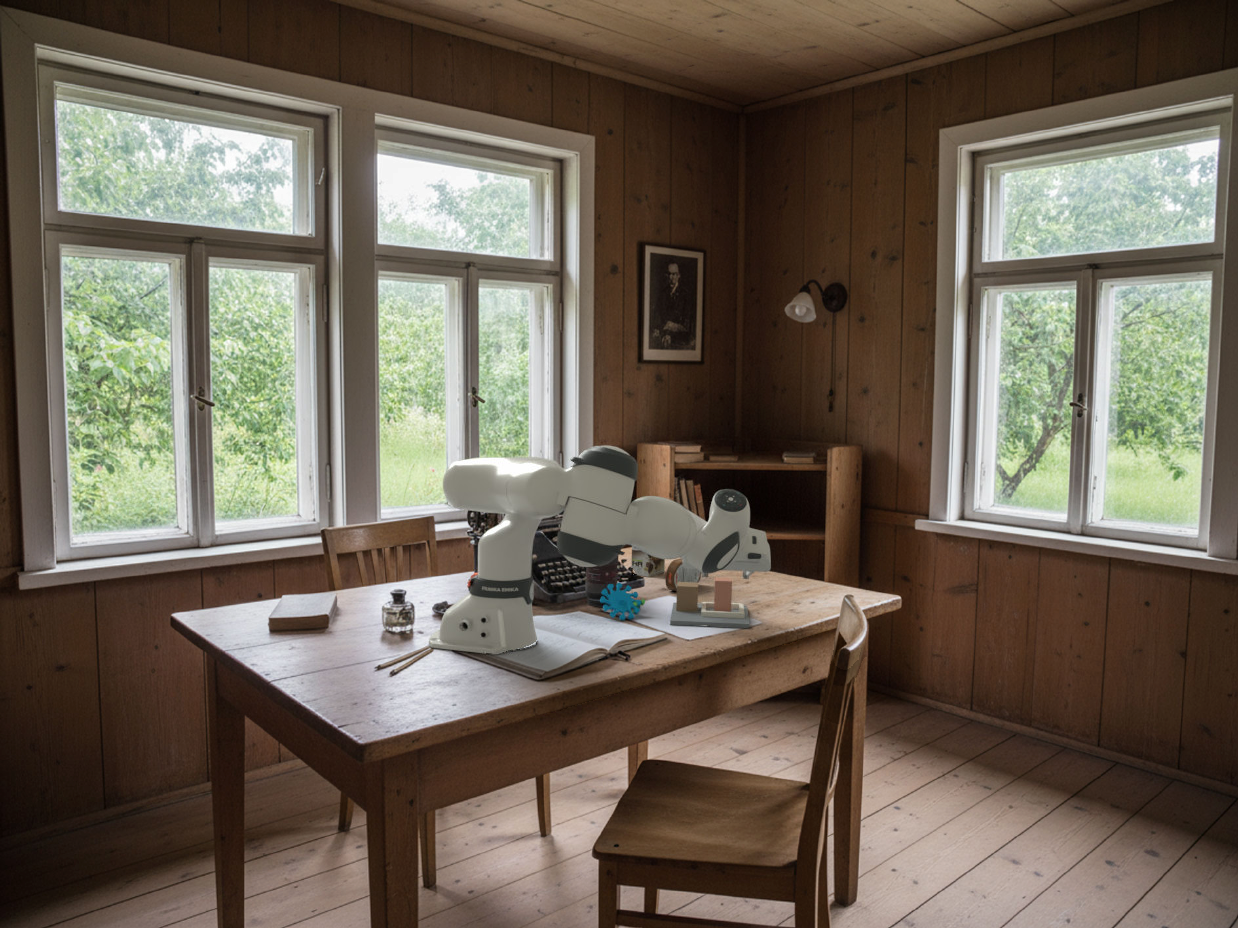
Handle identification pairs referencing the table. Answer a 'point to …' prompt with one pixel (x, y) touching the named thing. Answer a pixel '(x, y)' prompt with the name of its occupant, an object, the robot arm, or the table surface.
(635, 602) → the gear
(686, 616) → the base plate
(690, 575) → the tin
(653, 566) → the coffee box
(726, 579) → the pillar block
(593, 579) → the camera lens
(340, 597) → the table surface
